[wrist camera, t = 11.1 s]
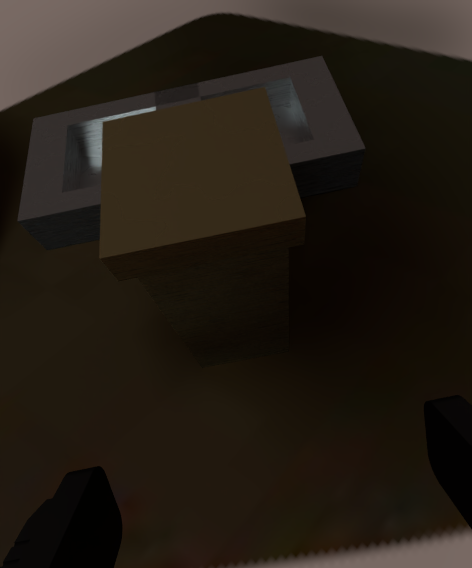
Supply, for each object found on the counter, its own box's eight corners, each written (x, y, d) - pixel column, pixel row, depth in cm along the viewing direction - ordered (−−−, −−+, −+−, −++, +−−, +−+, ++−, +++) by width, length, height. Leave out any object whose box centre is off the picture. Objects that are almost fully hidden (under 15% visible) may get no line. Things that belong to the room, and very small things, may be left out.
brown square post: (195, 375, 19) (99, 258, 9) (186, 286, 22) (102, 121, 12) (297, 356, 19) (305, 216, 9) (275, 269, 22) (264, 86, 12)
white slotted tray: (46, 250, 24) (17, 221, 22) (56, 152, 29) (33, 118, 26) (357, 186, 24) (365, 148, 21) (318, 96, 28) (322, 55, 25)
